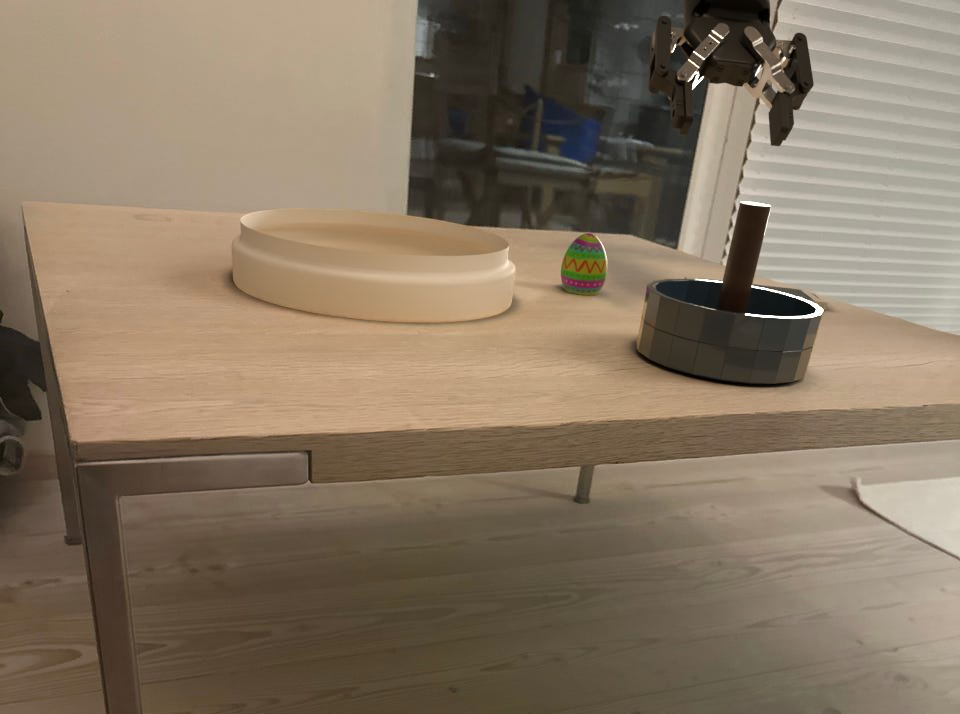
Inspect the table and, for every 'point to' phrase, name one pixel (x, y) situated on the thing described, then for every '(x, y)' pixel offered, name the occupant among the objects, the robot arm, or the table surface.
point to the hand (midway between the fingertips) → (733, 134)
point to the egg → (584, 266)
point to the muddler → (743, 256)
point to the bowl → (727, 333)
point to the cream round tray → (372, 265)
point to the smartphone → (790, 293)
